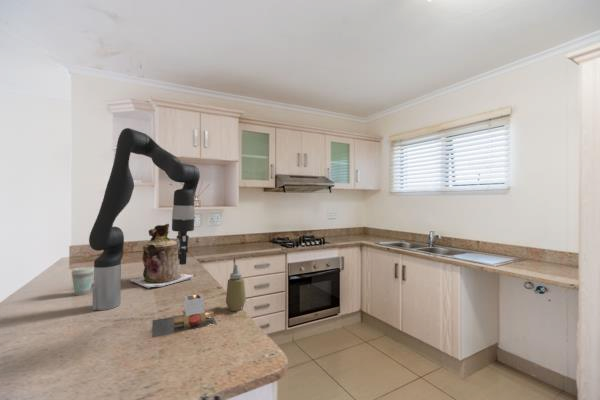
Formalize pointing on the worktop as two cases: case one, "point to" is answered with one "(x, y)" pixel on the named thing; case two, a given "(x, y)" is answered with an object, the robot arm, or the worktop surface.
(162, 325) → the valve station
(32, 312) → the worktop surface
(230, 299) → the squeeze bottle
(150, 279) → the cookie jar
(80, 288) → the coffee cup
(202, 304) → the steel fitting
